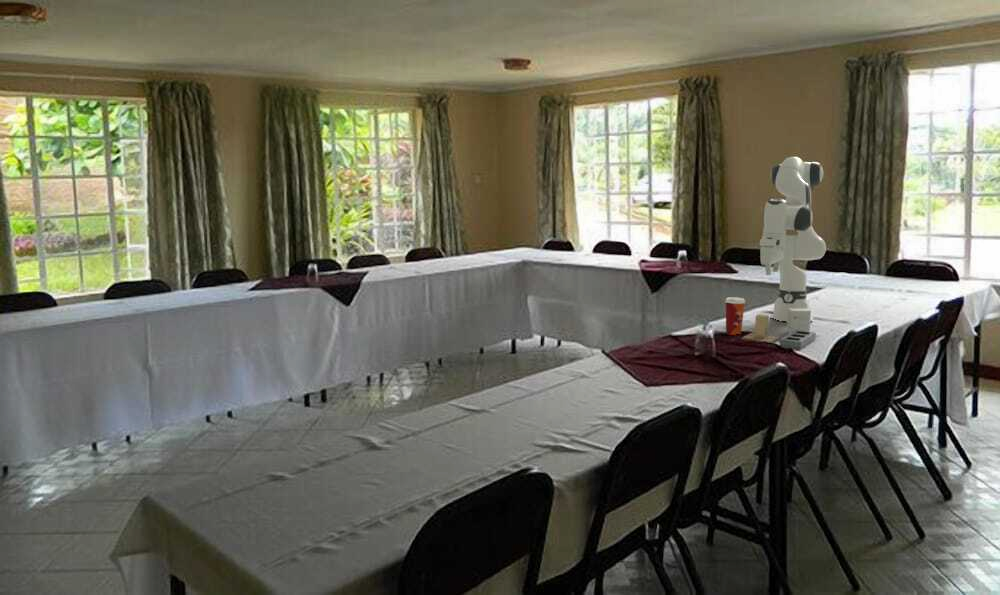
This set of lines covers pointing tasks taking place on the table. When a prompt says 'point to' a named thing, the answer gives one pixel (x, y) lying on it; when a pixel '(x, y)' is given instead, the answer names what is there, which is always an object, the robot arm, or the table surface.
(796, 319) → the small box
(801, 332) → the grey slotted block
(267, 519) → the table surface
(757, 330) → the peg
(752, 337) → the pad
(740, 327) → the coffee cup
